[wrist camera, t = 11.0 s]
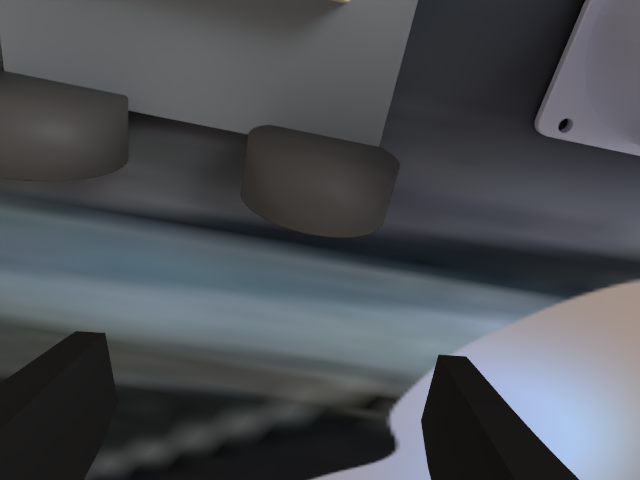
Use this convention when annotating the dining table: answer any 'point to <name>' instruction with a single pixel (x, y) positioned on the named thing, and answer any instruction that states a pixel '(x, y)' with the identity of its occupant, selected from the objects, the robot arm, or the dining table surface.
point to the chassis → (213, 94)
